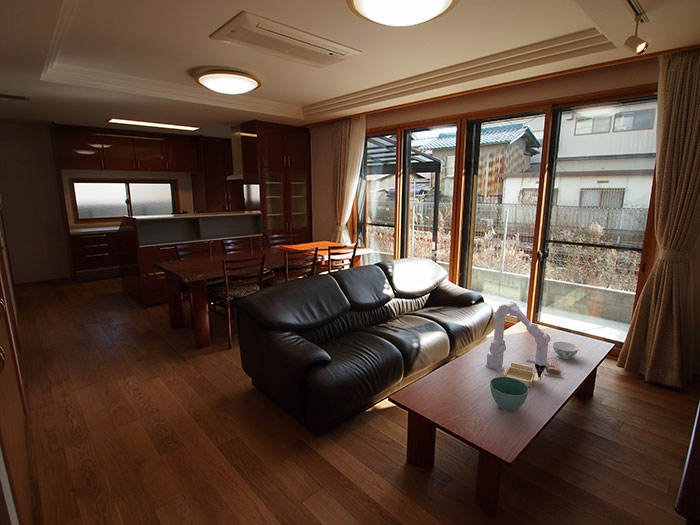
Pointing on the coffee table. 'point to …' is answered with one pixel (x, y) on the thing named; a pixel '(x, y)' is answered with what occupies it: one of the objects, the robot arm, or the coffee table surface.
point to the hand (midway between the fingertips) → (539, 376)
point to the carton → (520, 375)
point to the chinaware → (565, 349)
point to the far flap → (537, 378)
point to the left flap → (522, 366)
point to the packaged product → (551, 371)
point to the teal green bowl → (508, 392)
